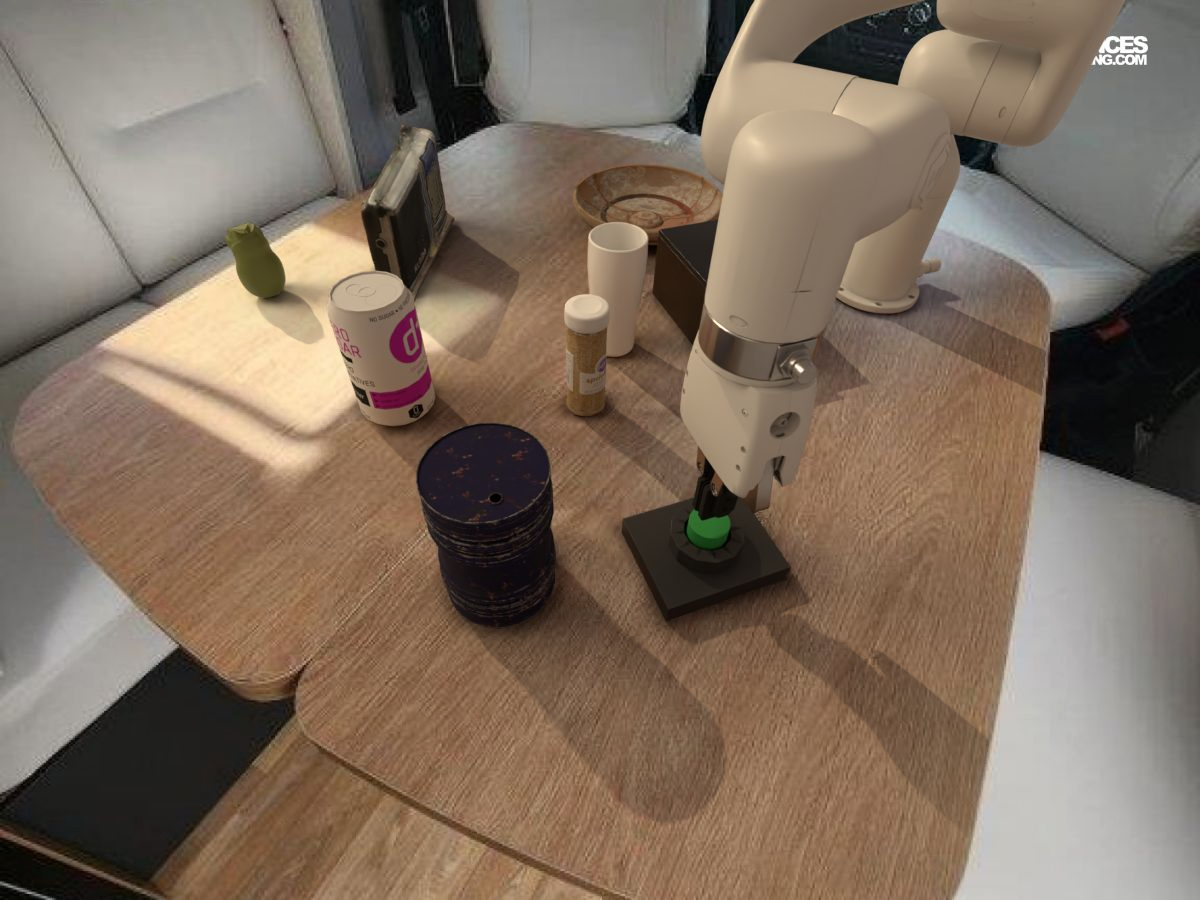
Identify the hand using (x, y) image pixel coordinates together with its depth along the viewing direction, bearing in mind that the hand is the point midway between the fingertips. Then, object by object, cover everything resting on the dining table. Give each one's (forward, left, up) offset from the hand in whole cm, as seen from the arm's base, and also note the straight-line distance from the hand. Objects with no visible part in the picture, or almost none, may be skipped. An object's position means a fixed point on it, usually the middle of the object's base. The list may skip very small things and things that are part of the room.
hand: (712, 509), depth 53 cm
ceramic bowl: (-21, -60, -7) cm, 64 cm away
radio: (+15, -61, -8) cm, 63 cm away
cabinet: (-20, -34, -7) cm, 40 cm away
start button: (0, 0, -4) cm, 4 cm away
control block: (0, 0, -7) cm, 7 cm away
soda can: (+23, -30, -7) cm, 39 cm away
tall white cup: (-4, -32, -7) cm, 33 cm away
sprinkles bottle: (+3, -23, -7) cm, 24 cm away
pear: (+36, -58, -7) cm, 69 cm away
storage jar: (+18, -4, -7) cm, 20 cm away
